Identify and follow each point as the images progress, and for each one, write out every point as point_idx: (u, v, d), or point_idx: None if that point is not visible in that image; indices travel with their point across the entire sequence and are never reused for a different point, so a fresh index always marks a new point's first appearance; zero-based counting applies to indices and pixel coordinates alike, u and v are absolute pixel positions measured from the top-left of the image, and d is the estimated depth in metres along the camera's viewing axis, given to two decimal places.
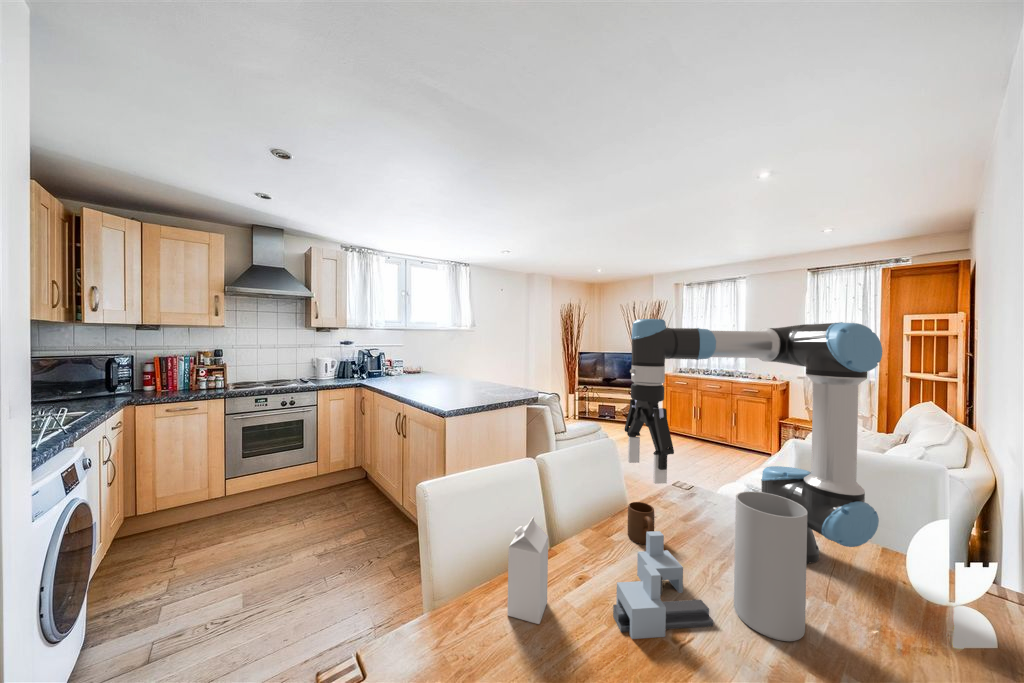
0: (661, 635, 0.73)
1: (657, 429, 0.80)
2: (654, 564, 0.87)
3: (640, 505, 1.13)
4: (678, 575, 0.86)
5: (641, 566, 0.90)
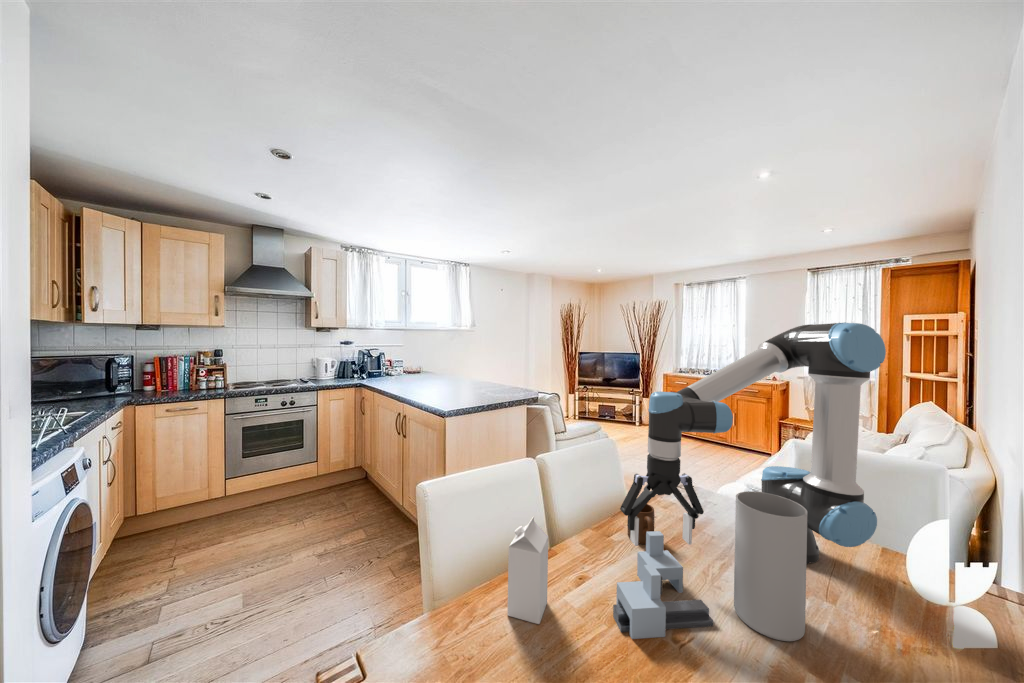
0: (661, 635, 0.73)
1: None
2: (654, 564, 0.87)
3: None
4: (678, 575, 0.86)
5: (641, 566, 0.90)
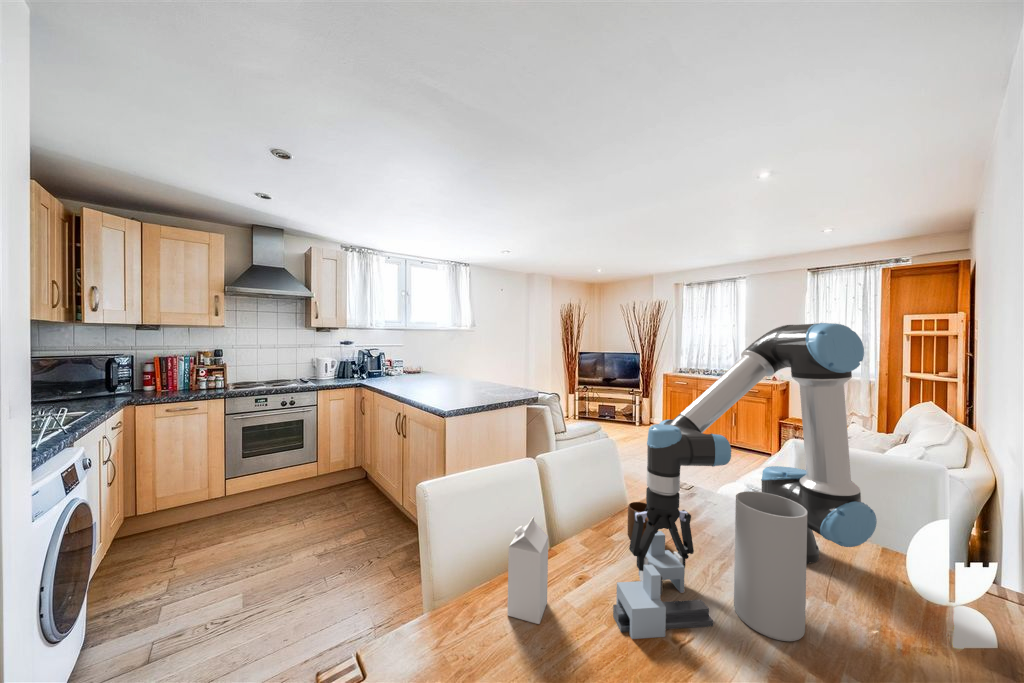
0: (661, 635, 0.73)
1: None
2: (655, 564, 0.87)
3: (640, 505, 1.13)
4: (680, 575, 0.86)
5: None
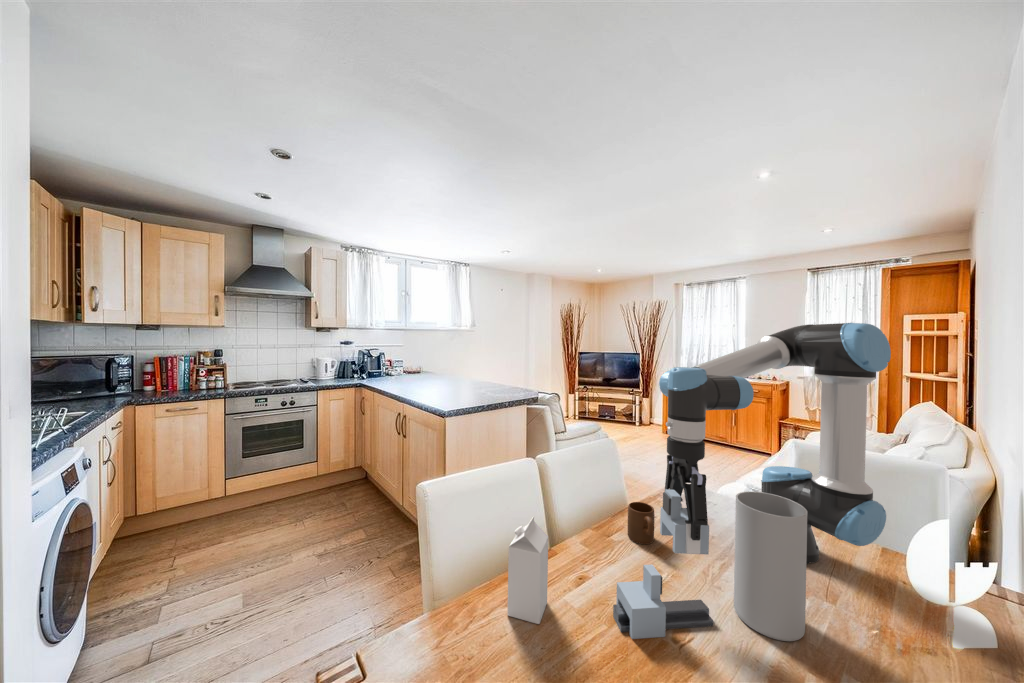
0: (661, 635, 0.73)
1: (692, 497, 0.74)
2: None
3: (640, 505, 1.13)
4: None
5: None
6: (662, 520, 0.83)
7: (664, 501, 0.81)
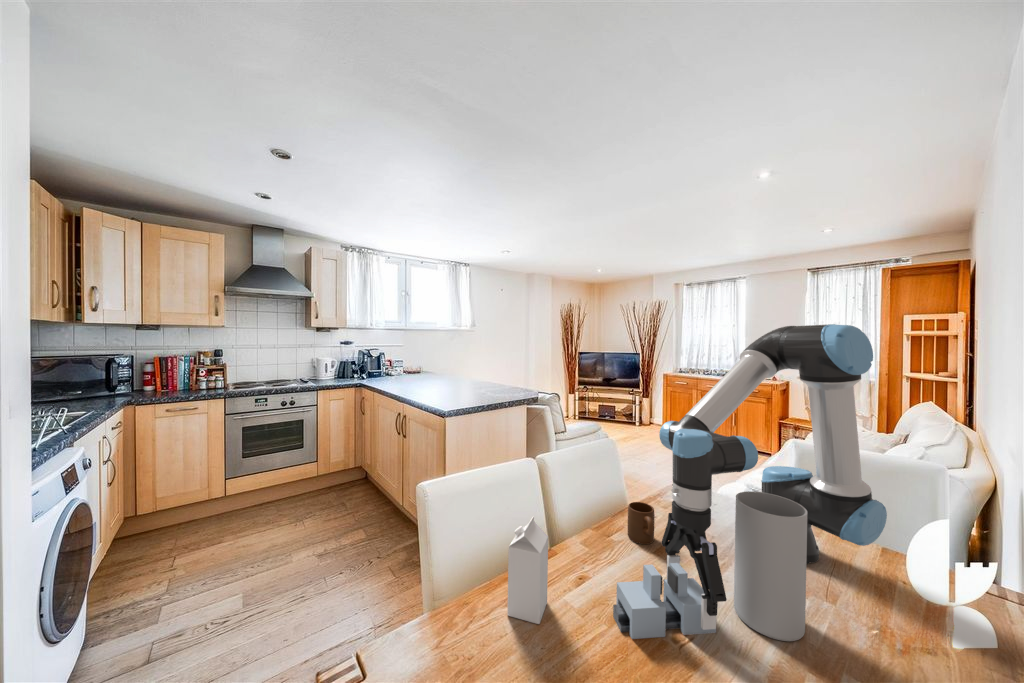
0: (661, 635, 0.73)
1: (706, 569, 0.71)
2: None
3: (640, 505, 1.13)
4: None
5: (694, 616, 0.74)
6: (666, 594, 0.81)
7: (669, 576, 0.79)
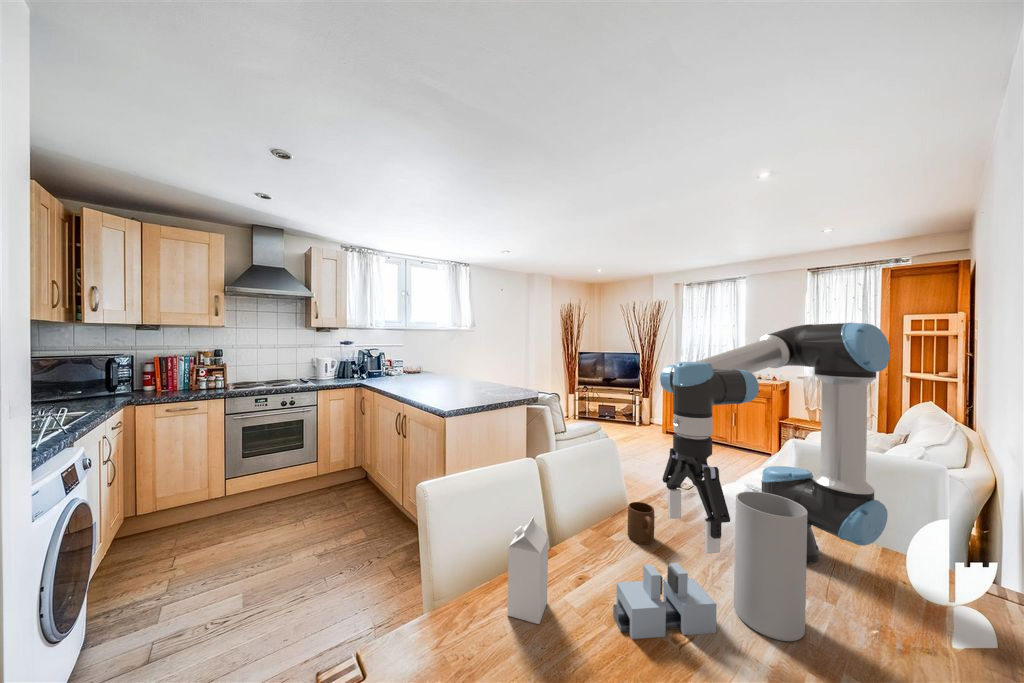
0: (661, 635, 0.73)
1: (709, 492, 0.70)
2: (704, 598, 0.76)
3: (640, 505, 1.13)
4: None
5: (694, 616, 0.74)
6: (666, 594, 0.81)
7: (669, 576, 0.79)
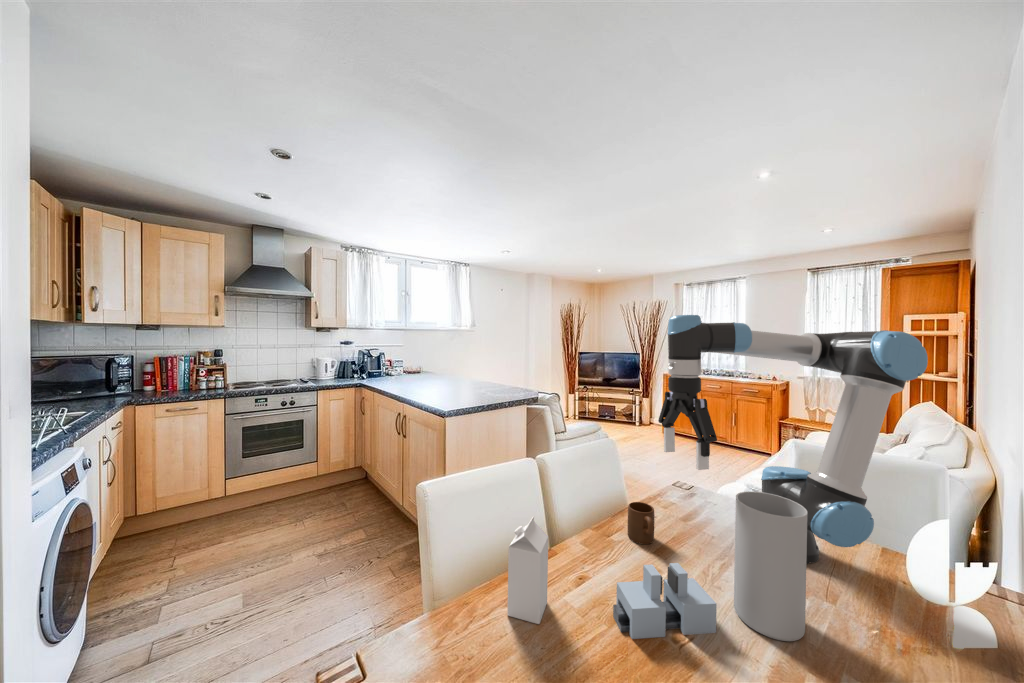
0: (661, 635, 0.73)
1: (699, 418, 0.85)
2: (704, 598, 0.76)
3: (640, 505, 1.13)
4: None
5: (694, 616, 0.74)
6: (666, 594, 0.81)
7: (669, 576, 0.79)
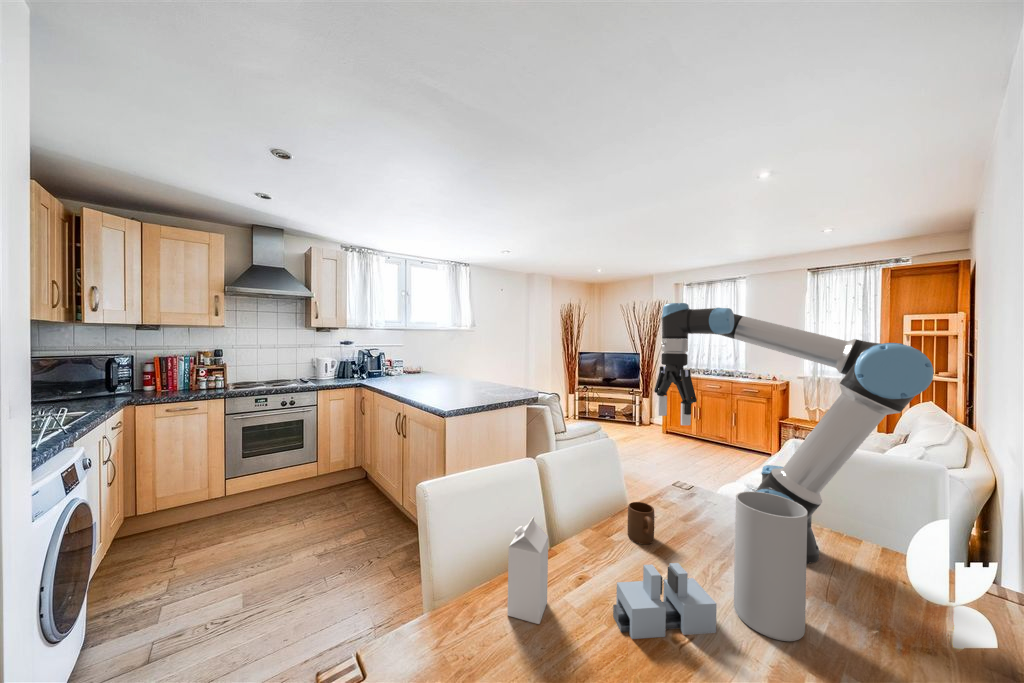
0: (661, 635, 0.73)
1: (683, 384, 1.07)
2: (704, 598, 0.76)
3: (640, 505, 1.13)
4: None
5: (694, 616, 0.74)
6: (666, 594, 0.81)
7: (669, 576, 0.79)
